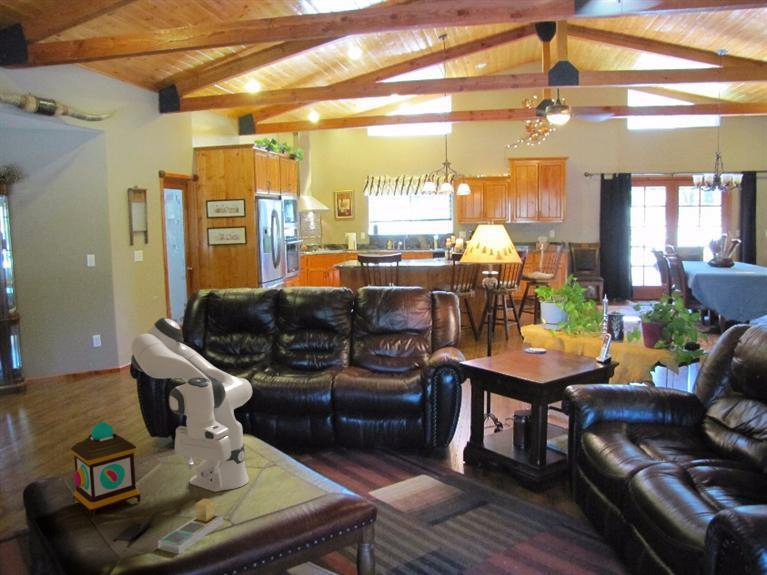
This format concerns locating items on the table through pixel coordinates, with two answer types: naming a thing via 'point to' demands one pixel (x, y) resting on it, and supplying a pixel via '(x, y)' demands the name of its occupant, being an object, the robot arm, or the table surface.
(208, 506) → the tan rectangular block
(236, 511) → the table surface
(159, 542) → the white compartment tray
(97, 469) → the decorative lantern
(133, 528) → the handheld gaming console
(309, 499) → the table surface
